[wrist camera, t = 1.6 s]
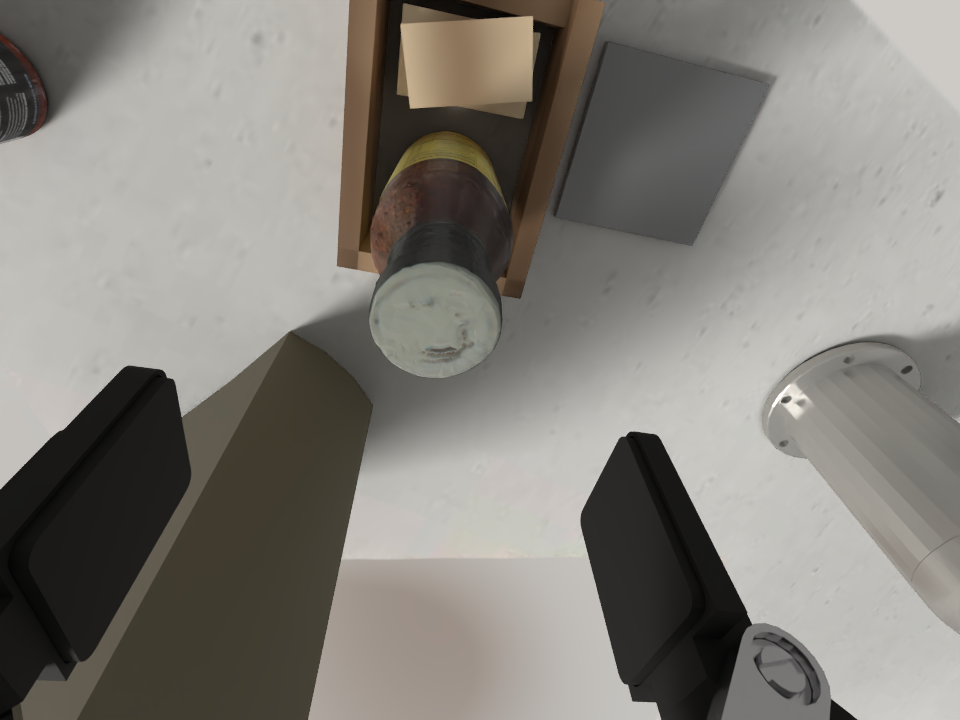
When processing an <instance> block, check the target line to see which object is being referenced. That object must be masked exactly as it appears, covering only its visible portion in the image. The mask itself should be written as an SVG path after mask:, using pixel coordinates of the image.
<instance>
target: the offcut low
mask: <svg viewBox="0 0 960 720" xmlns="http://www.w3.org/2000/svg"><path fill="white" fill-rule="evenodd" d="M459 20H475V19H473V18H468V17H464V16H459V15H455V14H450V13H446V12H441V11H437V10H432V9H428V8H423V7H419V6H414V5H410V4H405V3H403V13H402V24H409V23H425V22H442V21H459ZM540 35H541V33H536V32H533V69H534V64H535V60H536V55H537V50H538V45H539V40H540ZM533 69H532V74H533ZM397 94H398V95H403V96H408V97H409V95H408V86H407V78H406V69H405V61H404V52H403V44H402V35H401V41H400V55H399V69H398V83H397ZM526 103H527V102H512V103H495V104H478V105H462V106H459V107H464V108H469V109H474V110H479V111H484V112H489V113H494V114H499V115H504V116H509V117H515V118H520V119H523V117H524V113H525V108H526Z"/></svg>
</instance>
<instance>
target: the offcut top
mask: <svg viewBox="0 0 960 720" xmlns="http://www.w3.org/2000/svg"><path fill="white" fill-rule="evenodd" d="M400 27H401V35H402V44H403V52H404V61H405V69H406V78H407V86H408V95H409V103H410V109H411V108H428V107H445V106H462V105H478V104H495V103H512V102H529V101H532V69H533V16H525V17H508V18H492V19H475V20H459V21H442V22H425V23H409V24H400Z"/></svg>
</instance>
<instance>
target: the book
mask: <svg viewBox="0 0 960 720" xmlns="http://www.w3.org/2000/svg"><path fill="white" fill-rule="evenodd" d="M372 407H373V405H372V404H371V402H370V401H369V399H368V398H367V396H366V395H365V393H364V392H363V390H362V389H361V387H360V386H359V384H358V383H357V381H356V380H355V379H354V377H352V376H351V375H350V374H349V373H348V372H347V371H346V370H345V369H344V368H343V367H341V366H340V365H339V364H338V363H337V362H336V361H335V360H334V359H333V358H332V357H330V356H329V355H328V354H327V353H326V352H324V351H322V350H320V349H319V348H317V347H315V346H314V345H312V344H310V343H308V342H307V341H305V340H303V339H301V338H300V337H298V336H296V335H295V334H293V333H291V332H289V333H287V334H286V335H285V336H284V337H283V338H282V339H280V340H279V341H278V342H277V343H276V344H274V345H273V346H272V347H271V348H270V349H269V350H267V351H266V352H265V353H264V354H263V355H261V356H260V357H259V358H258V359H257V360H256V361H254V362H253V363H252V364H251V365H250V366H248V367H247V368H246V369H245V370H244V371H243V372H241V373H240V374H239V375H238V376H237V377H235V378H234V379H233V380H232V381H231V382H229V383H228V384H227V385H225V386H224V387H223V388H221V389H220V390H219V391H217V392H216V393H215V394H213V395H212V396H211V397H209V398H208V399H207V400H205V401H204V402H203V403H201V404H200V405H199V406H197V407H196V408H195V409H193V410H192V411H191V412H189V413H188V414H187V415H185V416H184V417H183V418H182V423H183V428H184V434H185V439H186V444H187V450H188V455H189V461H190V466H191V480H190V484H189V487H188V489H187V491H186V492H185V494H184V496H183V498H182V499H181V501H180V503H179V505H178V506H177V508H176V510H175V512H174V513H173V515H172V517H171V519H170V520H169V522H168V524H167V526H166V527H165V529H164V531H163V533H162V534H161V536H160V538H159V540H158V541H157V543H156V545H155V546H154V548H153V550H152V552H151V553H150V555H149V557H148V559H147V560H146V562H145V564H144V566H143V567H142V569H141V571H140V573H139V574H138V576H137V578H136V580H135V581H134V583H133V585H132V587H131V588H130V590H129V592H128V594H127V595H126V597H125V599H124V601H123V602H122V604H121V606H120V607H119V609H118V611H117V613H116V614H115V616H114V618H113V620H112V621H111V623H110V625H109V627H108V628H107V630H106V632H105V634H104V635H103V637H102V639H101V641H100V642H99V644H98V646H97V648H96V649H95V651H94V652H93V654H92V655H91V656H90V657H89V658H88V659H87V660H86V661H84V662H78V663H77V664H76V666H75V668H74V669H73V671H72V673H71V674H70V676H69V678H68V679H67V681H43V680H36V682H35V683H34V685H33V686H32V688H31V690H30V691H29V693H28V694H27V696H26V697H25V699H24V701H23V702H21V703H20V704H21V710H22V716H23V720H308V716H309V712H310V707H311V702H312V697H313V692H314V687H315V682H316V677H317V673H318V668H319V663H320V659H321V653H322V649H323V644H324V639H325V634H326V630H327V625H328V620H329V615H330V610H331V605H332V600H333V596H334V591H335V586H336V581H337V576H338V571H339V567H340V562H341V557H342V552H343V547H344V543H345V538H346V533H347V528H348V523H349V518H350V514H351V509H352V504H353V499H354V494H355V490H356V485H357V480H358V475H359V470H360V465H361V461H362V456H363V451H364V446H365V441H366V436H367V432H368V427H369V422H370V417H371V412H372Z"/></svg>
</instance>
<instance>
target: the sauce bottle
mask: <svg viewBox="0 0 960 720" xmlns="http://www.w3.org/2000/svg"><path fill="white" fill-rule="evenodd" d="M379 202H380V204H379V205H378V207H377V209H376V212H375V215H374V217H373V219H372V225H371V230H370V231H371V233H370V234H371V237H370V241H371V254H372V258H373V261H374V264H375V268H376V269H377V270H378V272H379V274H380V278H379V279H378V281H377V282H376V287H375V290H374V293H373V297H372V301H371V305H370V311H369V325H370V331H371V334H372V337H373V339H374V341H375V343H376V344H377V346H378V347H379V348H380V350H381V352H382V353H383V354H384V355H385V356H386V357H387V358H388V359H389V360H390V361H391V363H392V364H394V365H396V366H397V367H399V368H401V369H402V370H404V371H407V372H409V373H412V374H414V375H417V376H421V377H429V378H446V377H450V376H453V375H458V374H461V373H463V372H465V371H468V370H470V369H472V368H473V367H475V366H477V365H478V364H480V363H481V362H482V361H484V360H485V359H486V357H487V356H488V355H489V354H490V353H491V352H492V351H493V350H494V349H495V347H496V344H497V342H498V340H499V337H500V334H501V327H502V308H501V307H502V305H501V297H500V293H499V289H498V286H497V283H496V281H497V280H498V279H499V278H500V276H501V275H502V274H503V272H504V271H505V269H506V267H507V265H508V262H509V260H510V257H511V253H512V247H513V229H512V222H511V219H510V215H509V212H508V209H507V205H506V203H505V199H504V196H503V193H502V190H501V188H500V185H499V182H498V179H497V176H496V173H495V171H494V168H493V165H492V163H491V161H490V159H489V157H488V156H487V154H486V153H485V151H484V150H483V149H482V148H481V147H480V146H479V145H478V144H477V143H475V142H474V141H473V140H471V139H469V138H468V137H466V136H464V135H461V134H458V133H455V132H450V131H441V132H435V133H431V134H427V135H424V136H422V137H420V138H419V139H418V140H417V141H415V142H414V143H413V144H412V145H410V146H409V148H408V149H407V150H406V151H405V153H404V154H403V156H402V157H401V159H400V161H399V163H398V165H397V166H396V168H395V170H394V172H393V174H392V176H391V178H390V179H389V181H388V183H387V185H386V187H385V189H384V191H383V193H382V195H381V197H380V200H379Z"/></svg>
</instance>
